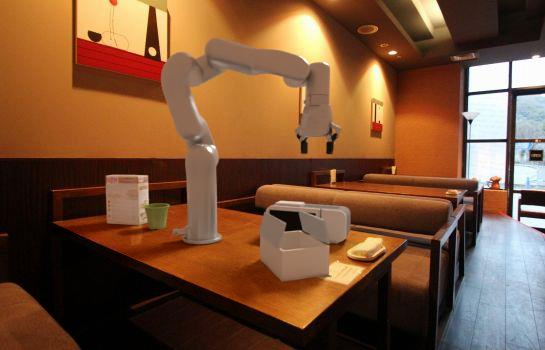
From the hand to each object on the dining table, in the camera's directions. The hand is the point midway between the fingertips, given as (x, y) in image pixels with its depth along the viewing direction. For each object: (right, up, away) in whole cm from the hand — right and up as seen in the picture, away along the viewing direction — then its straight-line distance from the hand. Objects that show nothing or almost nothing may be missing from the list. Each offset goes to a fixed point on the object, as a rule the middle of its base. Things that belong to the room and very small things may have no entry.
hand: (316, 154), depth 106 cm
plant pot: (-59, -27, +15) cm, 67 cm away
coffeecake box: (-74, -27, +23) cm, 82 cm away
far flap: (-4, -20, -24) cm, 32 cm away
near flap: (-15, -20, -28) cm, 37 cm away
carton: (-10, -30, -25) cm, 41 cm away
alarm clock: (-3, -29, +3) cm, 29 cm away
